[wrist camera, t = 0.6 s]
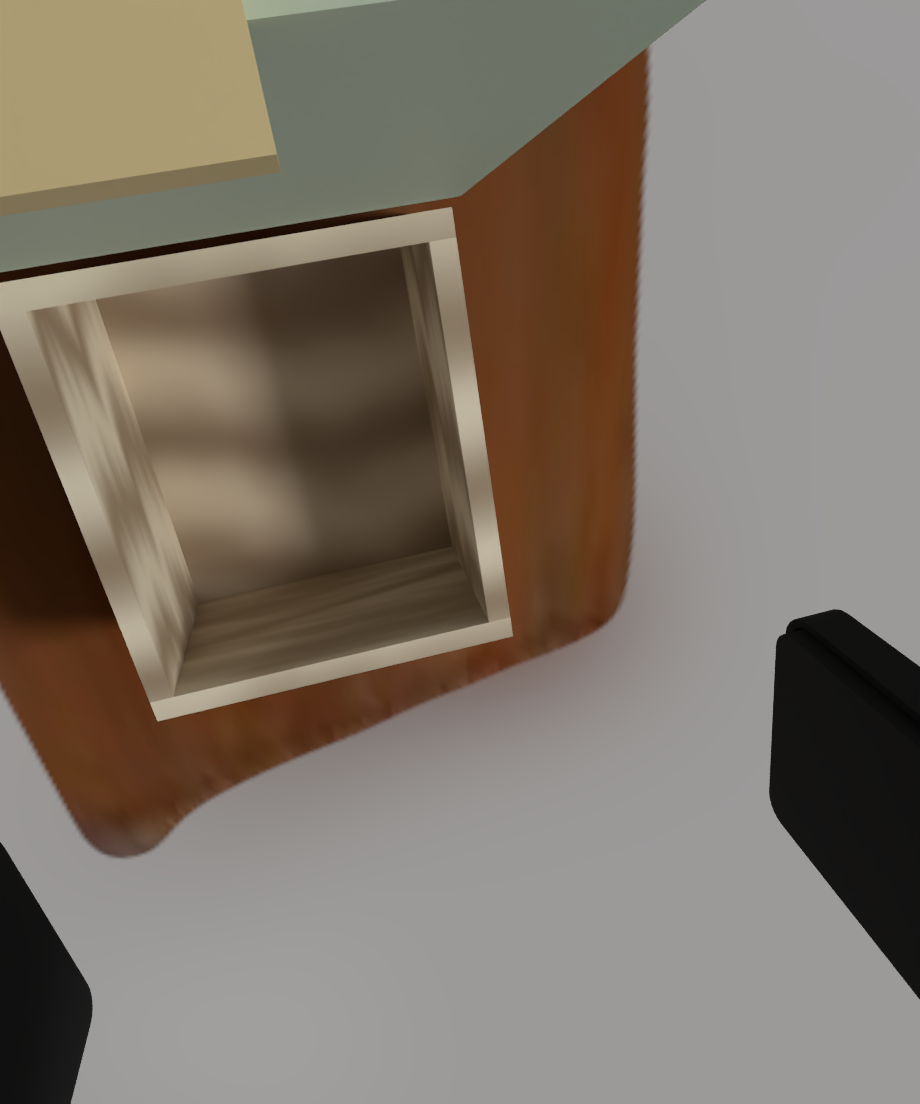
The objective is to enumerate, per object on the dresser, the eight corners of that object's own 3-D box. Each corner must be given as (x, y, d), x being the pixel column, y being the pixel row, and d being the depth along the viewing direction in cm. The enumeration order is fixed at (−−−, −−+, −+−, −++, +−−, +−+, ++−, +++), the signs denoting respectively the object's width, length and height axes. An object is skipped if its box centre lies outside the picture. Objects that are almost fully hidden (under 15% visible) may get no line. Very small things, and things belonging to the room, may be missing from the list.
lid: (-18, 322, 24) (-52, 232, 23) (466, 238, 26) (453, 151, 25) (-1065, 361, 6) (-1423, -60, 5) (819, 69, 8) (817, -272, 7)
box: (68, 272, 33) (-18, 286, 24) (413, 214, 35) (451, 206, 26) (189, 614, 41) (157, 721, 32) (468, 552, 43) (512, 636, 34)
